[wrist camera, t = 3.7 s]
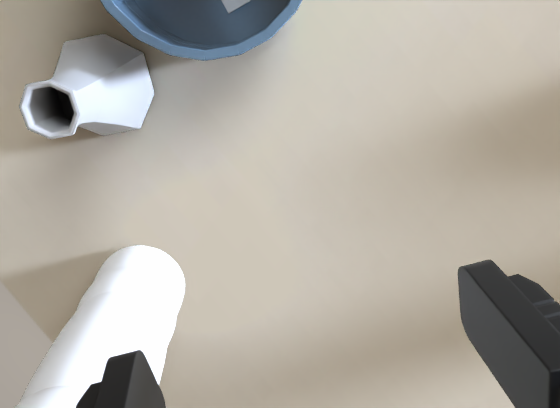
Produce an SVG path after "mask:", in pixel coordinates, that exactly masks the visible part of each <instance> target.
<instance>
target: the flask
mask: <svg viewBox="0 0 560 408" xmlns="http://www.w3.org/2000/svg"><path fill="white" fill-rule="evenodd" d="M153 96H154V89H153V86H152V82H151V79H150V75H149V71H148V68H147V64H146V60H145V57H144V53H143V52H141V51H139V50H137V49H135V48H132V47H130V46H128V45H126V44H124V43H122V42H120V41H118V40H116V39H114V38H112V37H110V36H108V35H106V34H101V35H96V36H91V37H86V38H81V39H76V40H71V41H67V42H64V44H63V47H62V50H61V53H60V56H59V59H58V62H57V65H56V68H55V72H54V75H53V77H52V78H51V79H50V80H45V81H40V82H35V83H30V84H26V85H25V89H24V92H23V95H22V98H21V101H20V105H19V108H20V111H21V113H22V116H23V119H24V121H25V124H26V127H27V129H28V130H30V131H32V132H35V133H37V134H39V135H41V136H44V137H46V138H48V139H55V138H60V137H65V136H70V135H74V134H75V132H76V129H77V126H78V127H81V128H84V129H87V130H90V131H92V132H94V133H97V134H99V135H102V136H105V135H110V134H115V133H120V132H125V131H130V130H136V129H141V126H142V124H143V121H144V119H145V116H146V113H147V111H148V108H149V106H150V103H151V101H152V98H153Z"/></svg>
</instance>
